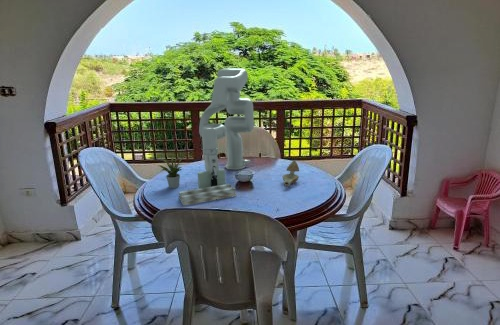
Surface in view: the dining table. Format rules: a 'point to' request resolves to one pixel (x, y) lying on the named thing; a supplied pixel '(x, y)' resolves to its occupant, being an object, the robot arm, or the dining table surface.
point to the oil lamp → (291, 174)
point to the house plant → (172, 173)
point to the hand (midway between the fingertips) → (212, 183)
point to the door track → (206, 194)
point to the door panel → (205, 178)
